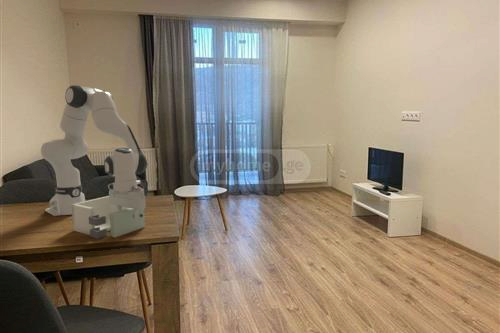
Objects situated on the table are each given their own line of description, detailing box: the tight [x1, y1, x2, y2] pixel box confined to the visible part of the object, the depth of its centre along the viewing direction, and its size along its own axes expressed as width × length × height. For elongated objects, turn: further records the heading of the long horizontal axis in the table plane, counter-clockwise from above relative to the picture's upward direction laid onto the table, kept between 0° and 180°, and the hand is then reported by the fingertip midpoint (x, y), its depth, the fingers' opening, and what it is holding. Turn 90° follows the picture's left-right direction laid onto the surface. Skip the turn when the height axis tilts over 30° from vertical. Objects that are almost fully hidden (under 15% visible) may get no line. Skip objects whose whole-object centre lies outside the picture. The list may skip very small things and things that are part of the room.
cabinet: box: [71, 195, 128, 239], centre depth 156 cm, size 19×21×12 cm
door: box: [110, 208, 146, 238], centre depth 151 cm, size 3×16×10 cm, turn 147°
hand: (128, 216), depth 151 cm, fingers open, 8 cm apart
